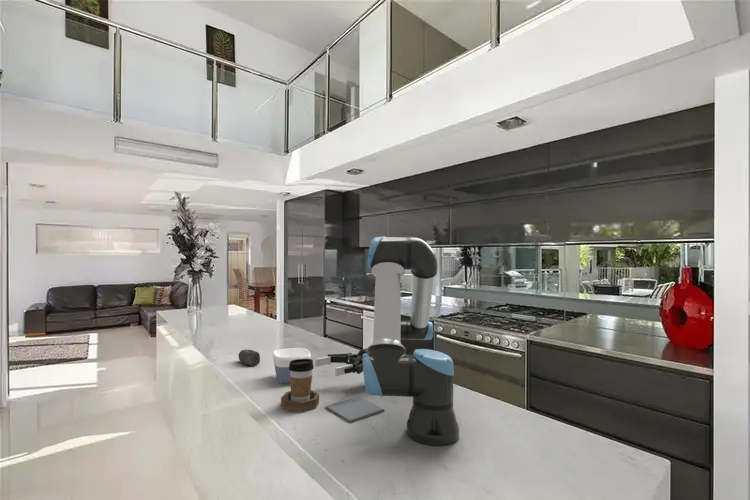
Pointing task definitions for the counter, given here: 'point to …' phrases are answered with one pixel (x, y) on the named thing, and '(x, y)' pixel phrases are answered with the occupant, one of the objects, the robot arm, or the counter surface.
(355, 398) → the rubber mat
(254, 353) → the perforated stone tool
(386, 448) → the counter surface
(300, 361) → the coffee cup
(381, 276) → the robot arm
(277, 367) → the blue white tub
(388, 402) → the counter surface
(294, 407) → the cup cradle
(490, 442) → the counter surface
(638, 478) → the counter surface
